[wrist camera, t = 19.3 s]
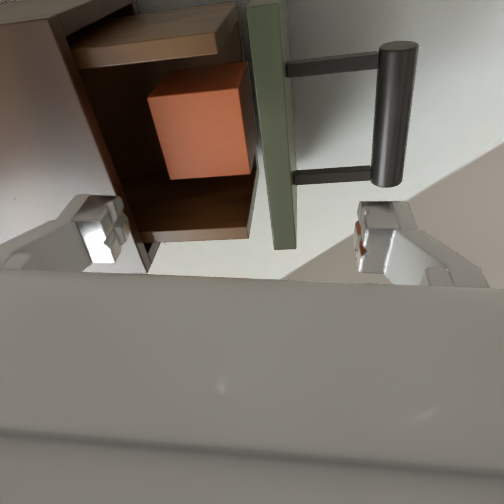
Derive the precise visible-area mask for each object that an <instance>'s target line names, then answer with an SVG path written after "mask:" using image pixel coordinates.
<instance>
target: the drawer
mask: <svg viewBox="0 0 504 504" xmlns="http://www.w3.org/2000/svg"><path fill="white" fill-rule="evenodd" d="M246 14H247V23H248V31H249V40H250V48H251V57H252V65H253V74H254V82H255V91H256V99H257V108H258V117H259V125H260V134H261V142H262V151H263V159H264V168H265V176H266V185H267V193H268V202H269V210H270V219H271V227H272V236H273V244H274V250H285V249H296V234H297V185H305V184H321V183H337V182H352V181H368V180H371V182H372V183H373V184H374V185H376V186H379V187H386V188H387V187H394V186H397V185H399V184H400V183H401V181H402V177H403V169H404V161H405V153H406V145H407V137H408V129H409V121H410V113H411V105H412V97H413V89H414V81H415V73H416V64H417V56H418V48H419V45H418V43H416V42H412V41H393V42H388V43H385V44H383V45H381V46H380V47H379V53H378V52H377V51H374V52H365V53H356V54H347V55H338V56H329V57H320V58H311V59H301V60H292V61H290V53H289V37H288V21H287V5H286V0H250V2H249V3H248V5H247V7H246ZM66 40H67V42H68V45H69V48H70V50H71V53H72V55H73V58H74V61H75V63H76V66H77V69H78V71H79V74H80V77H81V79H82V82H83V85H84V87H85V90H86V93H87V95H88V98H89V101H90V103H91V106H92V109H93V111H94V114H95V116H96V119H97V122H98V124H99V127H100V130H101V132H102V135H103V138H104V140H105V143H106V146H107V148H108V151H109V154H110V156H111V159H112V162H113V164H114V167H115V170H116V172H117V175H118V177H119V180H120V183H121V185H122V188H123V191H124V193H125V196H126V199H127V201H128V204H129V207H130V209H131V212H132V215H133V217H134V220H135V223H136V225H137V228H138V231H139V233H140V236H141V238H142V241H143V243H159V242H181V241H204V240H227V239H248V238H249V234H250V228H251V221H252V215H253V209H254V202H255V196H256V190H257V184H258V177H259V167H258V159H257V151H256V150H255V155H254V160H253V165H252V171H251V174H245V175H231V176H217V177H203V178H189V179H174V180H171V179H170V177H169V173H168V170H167V166H166V163H165V159H164V156H163V152H162V149H161V145H160V142H159V139H158V135H157V132H156V128H155V125H154V121H153V118H152V114H151V111H150V107H149V104H148V100H147V97H148V95H149V94H150V93H151V92H152V91H153V90H154V88H155V87H156V86H157V85H158V84H159V83H160V81H161V80H162V79H163V78H164V77H165V75H166V74H167V73H168V72H169V71H170V70H176V69H185V68H194V67H203V66H211V65H220V64H229V63H238V62H245V57H244V49H243V41H242V33H241V25H240V18H239V10H238V3H237V2H228V3H221V4H213V5H206V6H198V7H191V8H184V9H176V10H169V11H161V12H154V13H146V14H139V15H132V16H124V17H117V18H109V19H102V20H98V21H96V22H94V23H92V24H90V25H88V26H86V27H84V28H82V29H80V30H78V31H76V32H74V33H72V34H70V35H68V36H66ZM371 69H377V84H376V99H375V114H374V129H373V144H372V158H371V167H370V165H368V166H353V167H339V168H324V169H310V170H297V167H296V151H295V134H294V118H293V102H292V86H291V78H293V77H303V76H313V75H322V74H332V73H342V72H351V71H361V70H371Z"/></svg>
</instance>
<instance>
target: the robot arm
mask: <svg viewBox="0 0 504 504" xmlns="http://www.w3.org/2000/svg"><path fill="white" fill-rule="evenodd" d="M124 207H125V206H124V203H123V200H122V198H121V197H120V196H111V195H89V194H79V195H75V196H74V198H73V199H72V200H71V201H70V203H69V204H68V205H67V206H66V208H65V209H64V210H63V211H62V213H61V214H60V215H59V216H58V218H57V219H56V220H50V221H48V222H46V223H44V224H42V225H40V226H38V227H36V228H34V229H32V230H29V231H27V232H25V233H23V234H21V235H19V236H17V237H15V238H13V239H11V240H9V241H7V242H4V243H2V244H0V504H504V289H493V288H490V286H489V285H488V282H487V280H486V279H485V276H484V274H483V272H482V270H481V268H479V267H478V266H476V265H474V264H473V263H472V262H470V261H469V260H467V259H466V258H464V257H463V256H461V255H460V254H458V253H457V252H455V251H454V250H452V249H451V248H449V247H448V246H446V245H444V244H443V243H441V242H440V241H438V240H437V239H435V238H434V237H432V236H431V235H429V234H428V233H426V232H425V231H423V230H418V227H417V225H416V222H415V219H414V216H413V214H412V211H411V208H410V206H409V203H408V202H407V201H360V202H359V206H358V211H357V213H358V219H359V220H358V221H357V222H356V224H355V231H354V246H355V251H357V258H356V260H357V266H358V272H359V273H372V274H373V273H374V274H385V276H386V277H387V278H388V279H389V280H390V281H391V283H392V284H372V283H348V282H347V283H346V282H323V281H299V280H274V279H250V278H225V277H201V276H176V275H152V274H128V273H103V272H82V271H83V270H85V269H86V268H87V267H89V266H90V265H91V264H92V263H115V262H116V261H117V259H118V257H119V255H120V253H121V251H122V250H121V247H120V246H121V245H123V244H124V243H126V242H127V240H128V238H129V232H130V224H129V220H128V217H127V216H126V215H125V214H124V213H123V212H122V211H123V209H124Z"/></svg>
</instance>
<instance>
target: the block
mask: <svg viewBox="0 0 504 504" xmlns="http://www.w3.org/2000/svg"><path fill="white" fill-rule="evenodd" d="M147 100H148V104H149V107H150V111H151V114H152V118H153V121H154V125H155V128H156V132H157V135H158V139H159V142H160V145H161V149H162V152H163V156H164V159H165V163H166V166H167V170H168V173H169V177H170V179H171V180H174V179H189V178H203V177H217V176H231V175H245V174H251V171H252V165H253V160H254V155H255V150H256V144H257V139H258V137H257V129H256V121H255V113H254V105H253V97H252V89H251V81H250V73H249V65H248V62H238V63H229V64H220V65H211V66H203V67H194V68H185V69H176V70H170V71H169V72H168V73H167V74H166V75H165V77H164V78H163V79H162V80H161V81H160V83H159V84H158V85H157V86H156V87H155V88H154V90H153V91H152V92H151V93H150V94H149V95H148V97H147Z"/></svg>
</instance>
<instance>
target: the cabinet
mask: <svg viewBox="0 0 504 504" xmlns="http://www.w3.org/2000/svg"><path fill="white" fill-rule="evenodd" d="M139 14H140V13H139V9H138V5H137V1H136V0H20V1H13V2H6V3H0V244H2V243H4V242H7V241H9V240H11V239H13V238H15V237H17V236H19V235H21V234H23V233H25V232H27V231H29V230H32V229H34V228H36V227H38V226H40V225H42V224H44V223H46V222H48V221H50V220H56V219H57V218H58V216H59V215H60V214H61V213H62V211H63V210H64V209H65V208H66V206H67V205H68V204H69V203H70V201H71V200H72V199H73V198H74V196H75V195H79V194H89V195H111V196H120V197H121V198H122V200H123V203H124V206H125V207H124V209H123V211H122V212H123V213H124V214H125V215H126V216H127V217H128V220H129V224H130V232H129V238H128V240H127V242H126V243H124V244H123V245H121V246H120V247H121V250H122V251H121V253H120V255H119V257H118V259H117V261H116V262H115V263H92V264H91V265H90V266H89V267H87V268H86V269H85V270H83V271H82V272H103V273H128V274H143V273H148V271H149V269H150V266H151V264H152V262H153V259H154V257H155V255H156V252H157V250H158V248H159V245H160V243H161V242H159V243H143V241H142V238H141V236H140V233H139V231H138V228H137V225H136V223H135V220H134V217H133V215H132V212H131V209H130V207H129V204H128V201H127V199H126V196H125V193H124V191H123V188H122V185H121V183H120V180H119V177H118V175H117V172H116V170H115V167H114V164H113V162H112V159H111V156H110V154H109V151H108V148H107V146H106V143H105V140H104V138H103V135H102V132H101V130H100V127H99V124H98V122H97V119H96V116H95V114H94V111H93V109H92V106H91V103H90V101H89V98H88V95H87V93H86V90H85V87H84V85H83V82H82V79H81V77H80V74H79V71H78V69H77V66H76V63H75V61H74V58H73V55H72V53H71V50H70V48H69V45H68V42H67V40H66V36H68V35H70V34H72V33H74V32H76V31H78V30H80V29H82V28H84V27H86V26H88V25H90V24H92V23H94V22H96V21H98V20H102V19H109V18H117V17H124V16H132V15H139Z"/></svg>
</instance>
